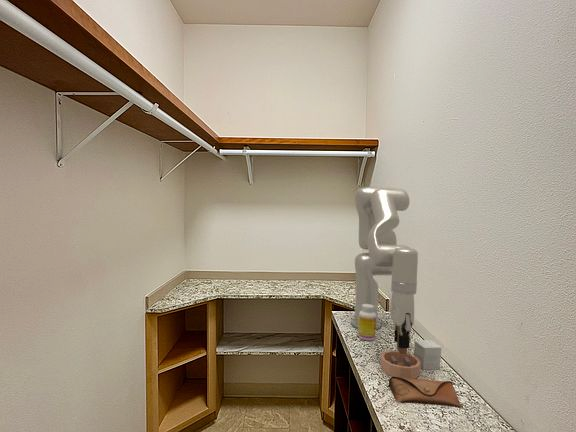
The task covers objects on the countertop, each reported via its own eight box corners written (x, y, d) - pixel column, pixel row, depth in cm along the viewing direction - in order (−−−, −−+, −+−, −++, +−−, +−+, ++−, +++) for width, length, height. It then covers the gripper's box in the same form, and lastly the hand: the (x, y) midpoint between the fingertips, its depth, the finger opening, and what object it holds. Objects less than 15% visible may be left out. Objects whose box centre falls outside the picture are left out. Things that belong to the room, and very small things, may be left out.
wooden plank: (396, 348, 107) (397, 317, 107) (402, 348, 107) (404, 318, 107) (400, 353, 103) (401, 321, 103) (406, 354, 103) (407, 322, 103)
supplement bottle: (375, 342, 127) (377, 308, 127) (358, 340, 128) (359, 307, 128) (374, 335, 133) (376, 303, 133) (358, 333, 135) (359, 302, 134)
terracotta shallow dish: (377, 360, 112) (377, 349, 112) (412, 362, 111) (413, 351, 111) (385, 378, 100) (386, 366, 100) (425, 380, 99) (425, 368, 99)
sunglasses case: (395, 403, 87) (393, 375, 91) (389, 403, 94) (387, 376, 97) (466, 408, 86) (461, 379, 90) (455, 407, 92) (451, 381, 96)
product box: (412, 361, 112) (414, 339, 112) (429, 360, 113) (430, 339, 113) (423, 370, 106) (424, 347, 106) (440, 369, 107) (441, 347, 107)
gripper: (385, 281, 113) (383, 334, 113) (399, 293, 97) (396, 355, 97) (407, 282, 113) (405, 335, 113) (425, 294, 96) (422, 357, 96)
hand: (401, 344), depth 105 cm, fingers closed on wooden plank, 3 cm apart
